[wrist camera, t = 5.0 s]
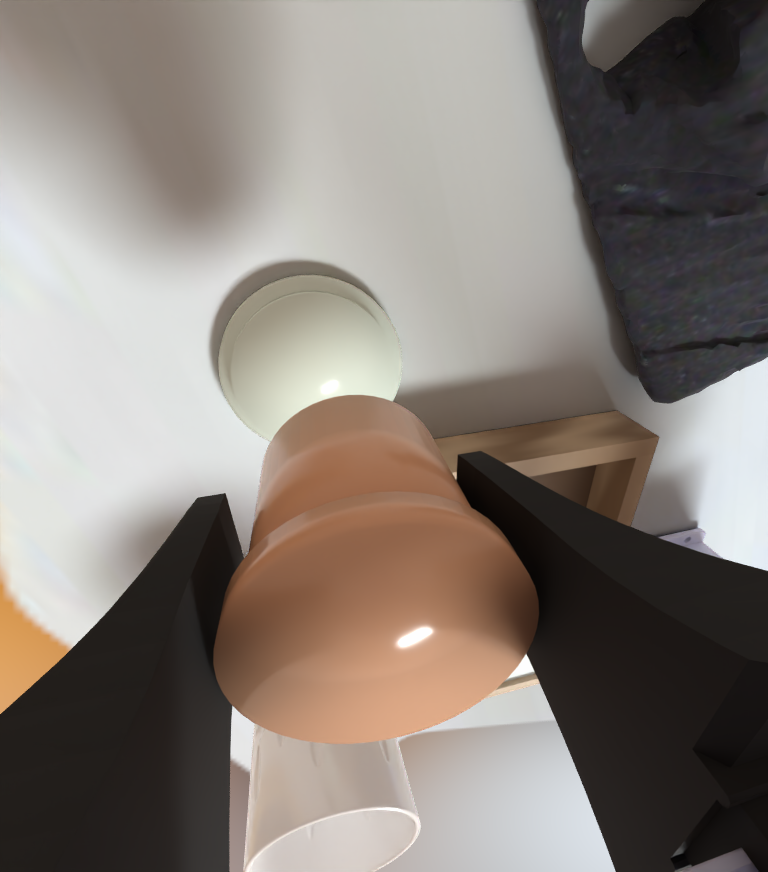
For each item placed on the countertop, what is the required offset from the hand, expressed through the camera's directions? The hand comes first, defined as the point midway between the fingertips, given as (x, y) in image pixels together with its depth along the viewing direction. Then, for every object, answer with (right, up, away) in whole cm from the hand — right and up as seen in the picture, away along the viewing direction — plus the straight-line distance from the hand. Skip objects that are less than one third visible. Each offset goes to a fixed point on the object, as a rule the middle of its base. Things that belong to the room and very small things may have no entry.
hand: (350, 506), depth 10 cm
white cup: (-4, -12, +17) cm, 21 cm away
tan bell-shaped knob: (0, +1, +2) cm, 2 cm away
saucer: (-2, +5, +8) cm, 10 cm away
